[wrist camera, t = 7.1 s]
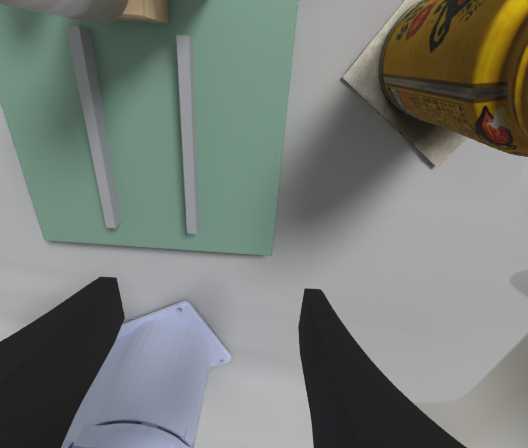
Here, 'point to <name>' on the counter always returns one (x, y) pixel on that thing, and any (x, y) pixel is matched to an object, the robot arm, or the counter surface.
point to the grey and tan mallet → (99, 9)
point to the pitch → (152, 123)
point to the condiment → (450, 74)
